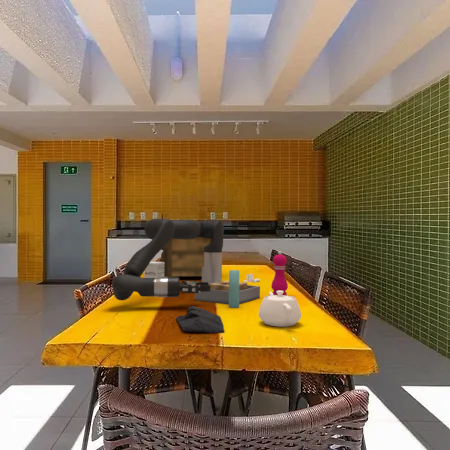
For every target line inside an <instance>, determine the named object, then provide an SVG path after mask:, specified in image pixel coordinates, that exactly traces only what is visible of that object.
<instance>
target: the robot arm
mask: <svg viewBox="0 0 450 450" xmlns="http://www.w3.org/2000/svg"><path fill="white" fill-rule="evenodd" d="M196 221H197V220H195V219H174V220H171V219H170V218H152V219H150V220H148V221H147V222H146V224H145V226H144V234H145V236H146V237H147V238H148V239H150V241H149V242H148V243H147V244H146V245H145V246H143V247H141V248H140V249H139V250H137V251H136V252H135V253H134V254H133V255H132V256H131V258H130V259H129V261H128V262H127V264H126V265H125V267H124V270H123V274H119V275H117V276H115V277H113V279H112V282H111V289H112V293H113V296H114V298H115V299H116V300H118V301H126V300H127V299H129V298H131V296H132V295H133V294H134V293H137V294H138V295H139V296H140V297H145V298H146V297H155V298H178V297H179V296H180V292H182V294H195V293H199V292H207V291H210V285H208V284H211V283H216V282H221V281H222V280H223V278H222V275H223V266H222V265H223V247H224V234H225V227H224V222H223V223H222V222H221V220H219V219H218V220H217V219H208V220H207V219H206V220H199V221H200V222H196ZM196 237H203V238H212V239H213V240H212V243H211V244H209V245H207V246H205V247H204V267H202V276H201V281H197V280H182V281H181V282H180V276H176V277H158V278H144V277H142V276H143V275H144V271H145V269H146V267H147V266H148V264H149V263H150V262H152V260H153V259H154V258H155V256H156V255H157V254H159V253H160V251H162V250H161V249H162V248H163V247H164V246H165V245H166V244H167V243H168V241H169V240H170V239H171V238H174V239H194V238H196Z"/></svg>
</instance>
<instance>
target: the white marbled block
mask: <svg viewBox="0 0 450 450" xmlns="http://www.w3.org/2000/svg"><path fill="white" fill-rule="evenodd" d="M164 264H165V262H161V261H151V262H150V263H149V264H148V266H147V267H146V269H145V271H144V272H143V275H144V277H143V278H158V277H164Z"/></svg>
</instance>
